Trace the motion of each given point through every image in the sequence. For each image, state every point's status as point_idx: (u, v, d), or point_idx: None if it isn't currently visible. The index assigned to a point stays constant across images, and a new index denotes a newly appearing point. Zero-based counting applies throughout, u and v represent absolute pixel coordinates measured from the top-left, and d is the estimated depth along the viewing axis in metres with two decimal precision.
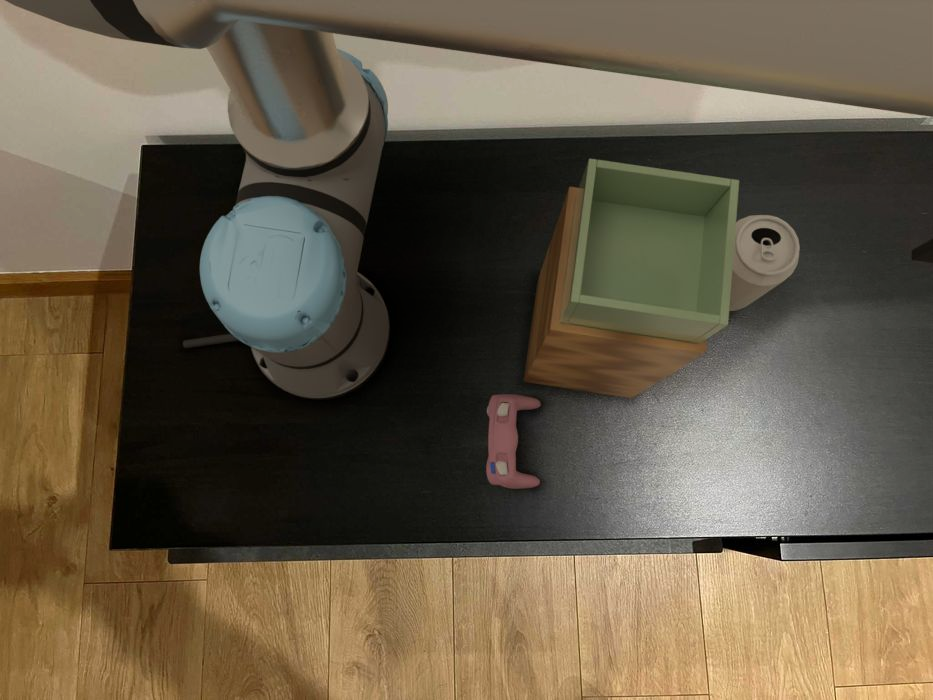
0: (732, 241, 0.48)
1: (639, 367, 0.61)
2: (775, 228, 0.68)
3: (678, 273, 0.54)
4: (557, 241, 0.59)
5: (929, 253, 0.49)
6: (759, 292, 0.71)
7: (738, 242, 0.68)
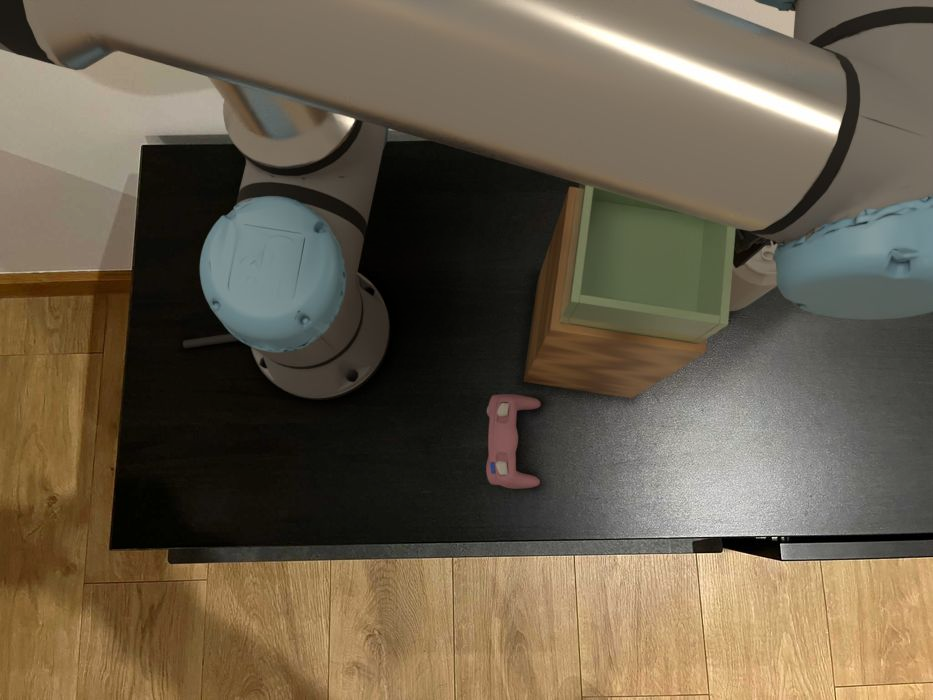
0: (732, 241, 0.48)
1: (639, 367, 0.61)
2: None
3: (678, 273, 0.54)
4: (557, 241, 0.59)
5: None
6: (759, 292, 0.71)
7: None
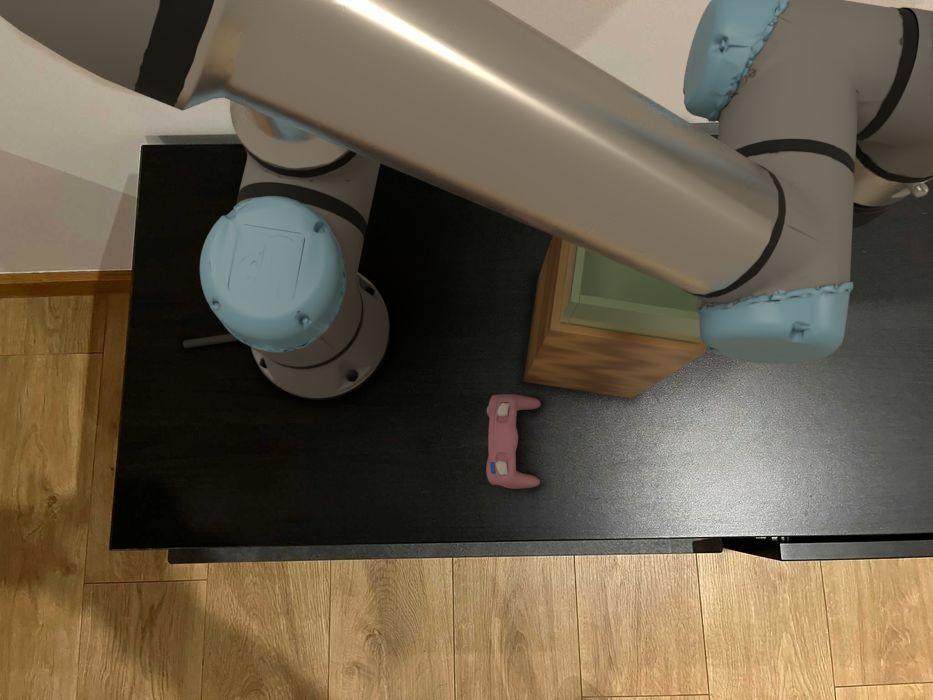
0: None
1: (639, 367, 0.61)
2: None
3: None
4: (557, 241, 0.59)
5: None
6: None
7: None
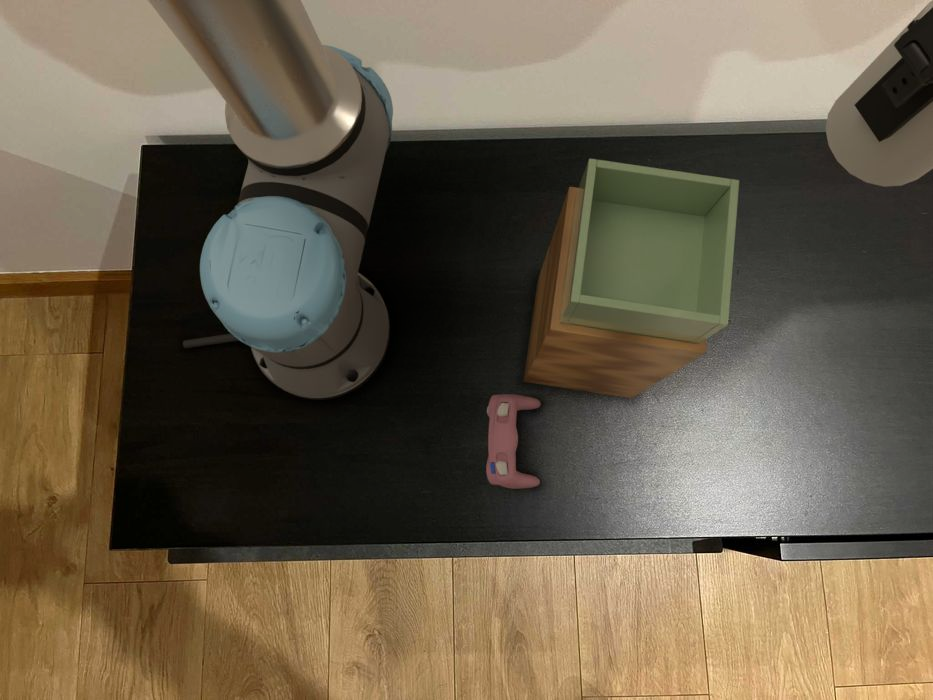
0: (732, 241, 0.48)
1: (639, 367, 0.61)
2: None
3: (678, 273, 0.54)
4: (557, 241, 0.59)
5: (871, 95, 0.40)
6: None
7: None
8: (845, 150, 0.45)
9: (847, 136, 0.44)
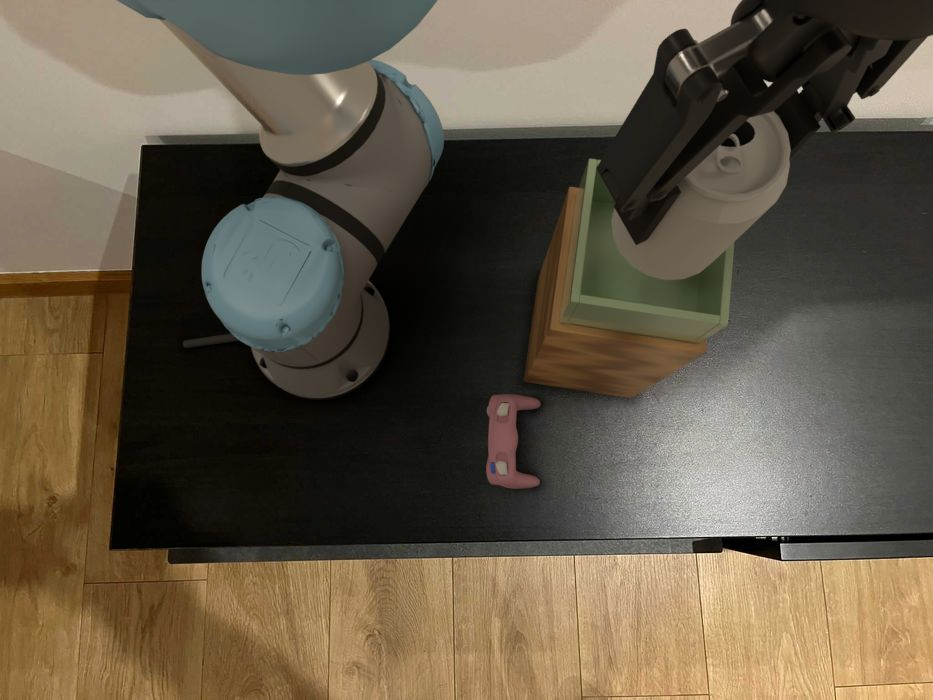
0: None
1: (639, 367, 0.61)
2: None
3: None
4: (557, 241, 0.59)
5: None
6: (716, 240, 0.38)
7: None
8: (623, 245, 0.44)
9: (622, 232, 0.44)
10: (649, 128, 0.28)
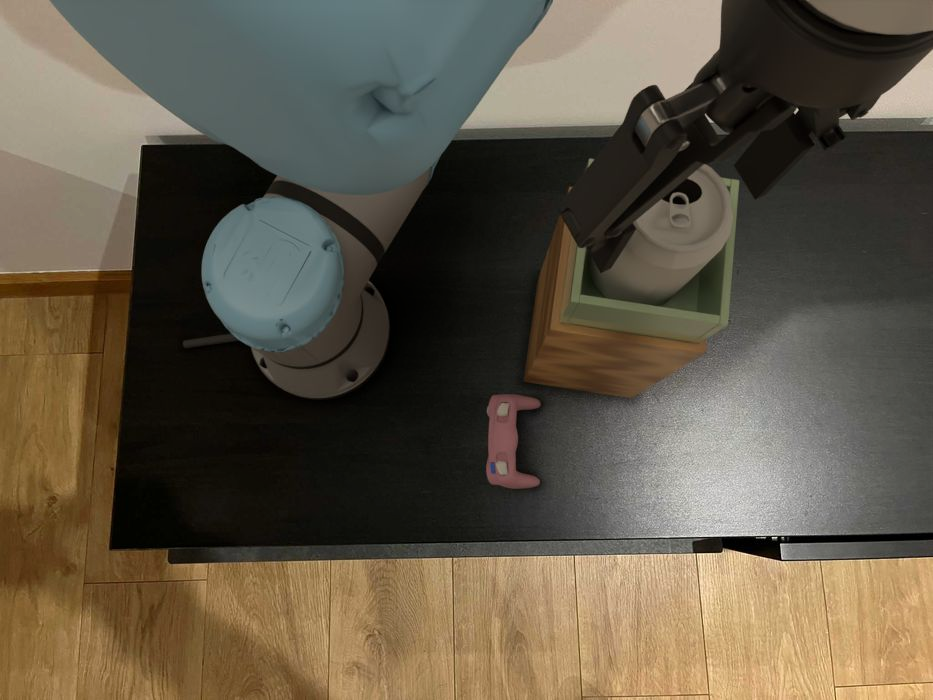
0: (732, 241, 0.48)
1: (639, 367, 0.61)
2: (693, 177, 0.43)
3: None
4: (557, 241, 0.59)
5: None
6: (673, 280, 0.45)
7: None
8: (598, 280, 0.51)
9: (596, 269, 0.51)
10: (614, 171, 0.31)
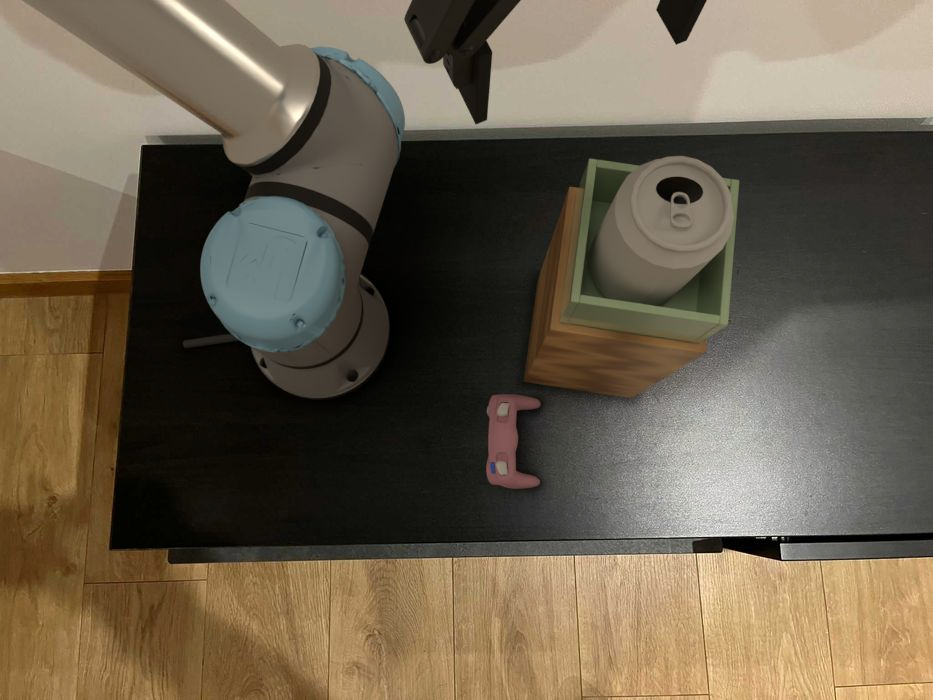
0: (732, 241, 0.48)
1: (639, 367, 0.61)
2: (694, 177, 0.43)
3: None
4: (557, 241, 0.59)
5: None
6: (674, 280, 0.45)
7: (633, 199, 0.42)
8: (598, 280, 0.51)
9: (596, 269, 0.51)
10: None
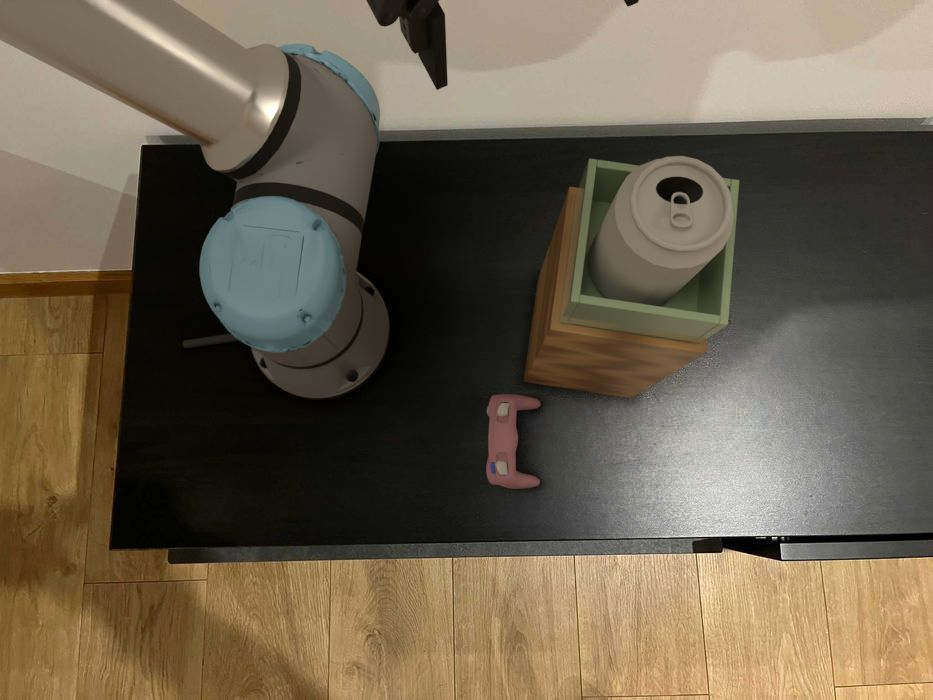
0: (732, 241, 0.48)
1: (639, 367, 0.61)
2: (694, 177, 0.43)
3: None
4: (557, 241, 0.59)
5: None
6: (674, 280, 0.45)
7: (633, 199, 0.42)
8: (598, 280, 0.51)
9: (596, 269, 0.51)
10: None
